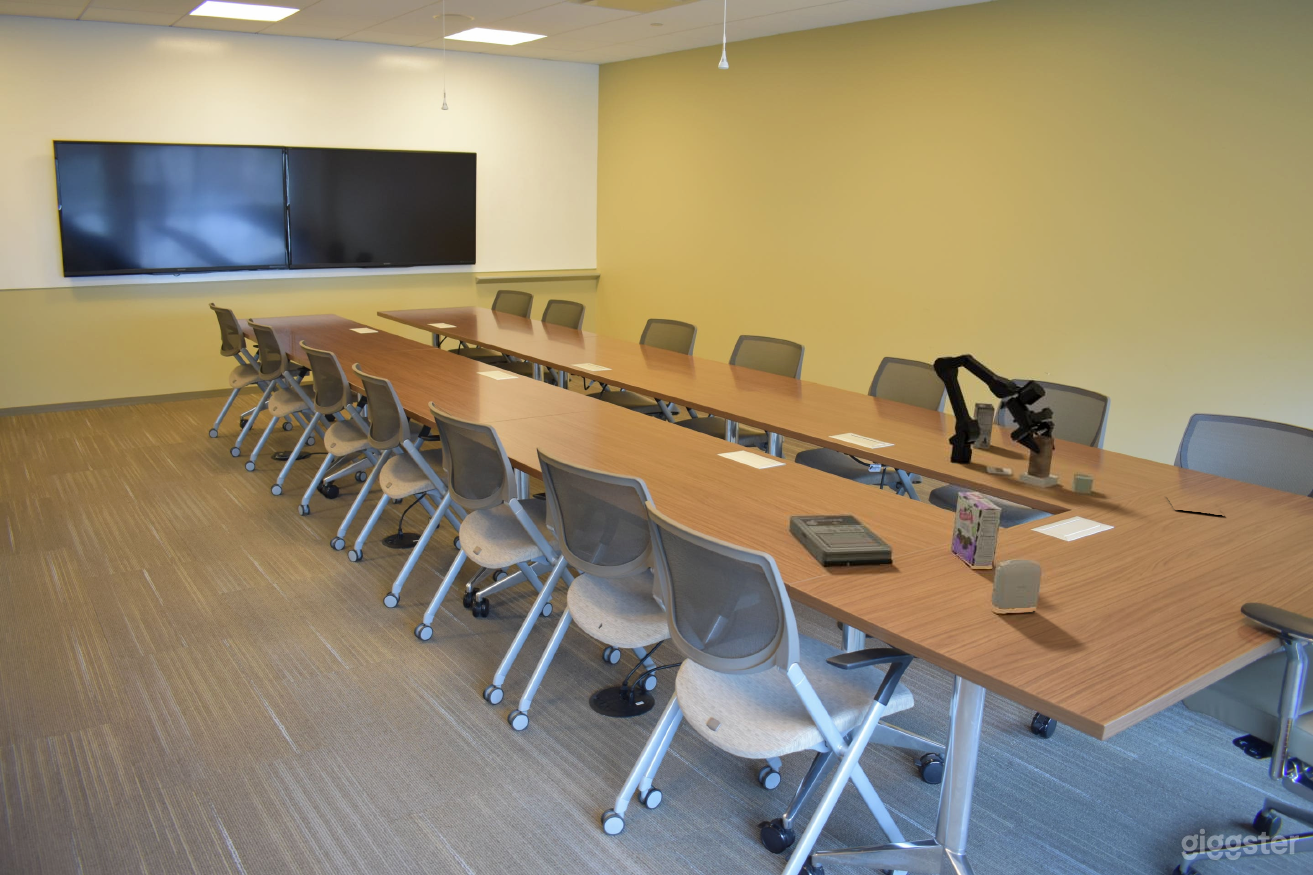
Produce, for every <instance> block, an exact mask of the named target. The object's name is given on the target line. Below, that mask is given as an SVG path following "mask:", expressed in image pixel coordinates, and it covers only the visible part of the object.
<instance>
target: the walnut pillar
mask: <svg viewBox="0 0 1313 875" xmlns="http://www.w3.org/2000/svg"><path fill="white" fill-rule="evenodd" d="M1033 438H1034V440H1035V442H1036V444H1037V446H1038V448H1039V450H1040V452H1041V453H1040V454H1036V453H1035V452H1033V451H1032V450H1030V449H1029V460H1028V468H1027V472H1028V474H1027V475H1031V476H1035V477H1038V478H1044V477H1047V476H1049V475H1051V474H1050V473H1051V466H1052V457H1053V451H1054V450H1053V444H1054V445H1055V443H1054V442H1055V437H1054V438H1053V437H1052V438H1050V437H1045V436H1041V435H1040V436H1037V435H1035V436H1033Z"/></svg>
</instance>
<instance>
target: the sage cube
mask: <svg viewBox="0 0 1313 875" xmlns="http://www.w3.org/2000/svg"><path fill="white" fill-rule="evenodd" d="M1093 483H1094V478H1093V476H1092V475H1090V474H1089V475H1088V474H1081V473H1080V474H1079V473H1074V475H1073V482H1072V486H1071V487H1072V491H1073V492H1074V493H1078V494H1079V493H1080V494H1089V495H1091V494H1092V488H1093Z"/></svg>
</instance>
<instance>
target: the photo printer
mask: <svg viewBox="0 0 1313 875" xmlns="http://www.w3.org/2000/svg"><path fill="white" fill-rule="evenodd" d="M994 570H995V571H994V577H993V587H992V593H991V601H990V603H991V602H992V605H994V606H995V607H998V608H999V609H1010V608H1011V609H1015V608H1030V607H1037V608H1038V600H1039V593H1040V587H1041V581H1042V580H1041V579H1042V567H1041V564H1040V563H1038V562H1037V561H1036V560H1032V559H1031V560H1030V559H1027V558H1015V559H1014V558H1013V559H1010V560H1009V559H1008V560H1004V561H1001V562H998V563H997V564H996V566H995V569H994Z"/></svg>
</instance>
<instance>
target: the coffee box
mask: <svg viewBox="0 0 1313 875" xmlns="http://www.w3.org/2000/svg"><path fill="white" fill-rule="evenodd" d="M973 410H974V411H973V418H972V419H973V420H974V419H977V420H978V424H979V427H980V428H981V430H980V436H979V438H978V439H977V440H976V441H975V443H974V444H972V445H971V447H972V449H973V448H974V449H982V450H983V449H984V450H985V449H987V450H990V447H991V446H990V445H991V440H992V439H991V438H992V432H993V424H994V417H995V410H996V409H995V406H994V405H993V404H992V403H984V402H983V403H981V402H975V403H974V409H973Z"/></svg>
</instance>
